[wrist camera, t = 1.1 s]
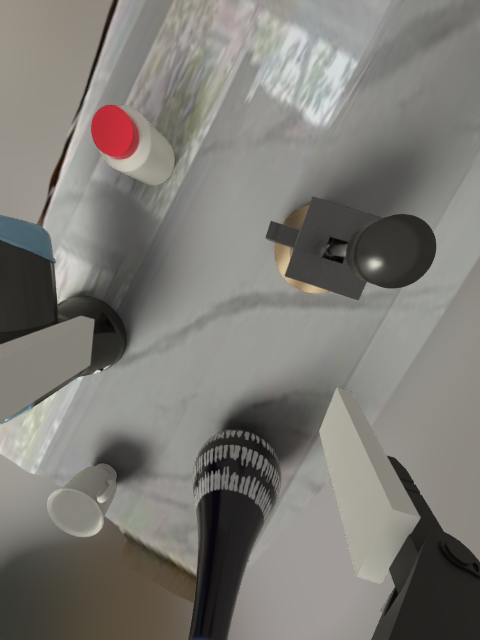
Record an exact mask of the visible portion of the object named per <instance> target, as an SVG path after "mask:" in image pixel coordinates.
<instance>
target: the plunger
mask: <svg viewBox="0 0 480 640" xmlns="http://www.w3.org/2000/svg"><path fill="white" fill-rule="evenodd" d="M435 253H436V239H435V236H434V233H433V231H432V229H431V228H430V226H429V225H428V224H427V223H426V222H425V221H423V220H422V219H420V218H418V217H416V216H413V215H407V214H398V215H393V216H389V217H386V218H382V219H378V220H375V221H372V222H369V223H366V224H365V225H363V226H361V227H360V228H359V229H358V230H357V231H356V232H355V233H354V234H353V235H352V237H351V238H350V240H349V242H345V241H342V240H338V239H335V238H332V237H330V238H329V241H328V243H327V246H326V249H325V251H324V254H323V256H322V258H325V259H328V260H331V261H335V262H338V263H342V261H343V258H344V257H346V261H347V264H348V267H349V269H350V270H351V272H352V273H353V274H354V275H355V276H357V277H358V278H360V279H362V280H364V281H367V282H369V283H372V284H375V285H377V286H380V287H384V288H401V287H405V286H407V285H410V284H412V283H414V282H415V281H417V280H418V279H420V278H421V277H422V276H423V275H424V274H425V273H426V272H427V270H428V269H429V268H430V266H431V264H432V262H433V260H434V257H435Z"/></svg>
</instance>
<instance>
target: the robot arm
mask: <svg viewBox="0 0 480 640" xmlns="http://www.w3.org/2000/svg"><path fill="white" fill-rule="evenodd" d="M54 263H56V260H55V259H54V258H53V251H52V244H51V238H50V235H49V233H48V232H47V231H46V230H45V229H44V228H42V227H41V226H39V225H37V224H34V223H30V222H27V221H23V220H19V219H15V218H11V217H6V216H2V215H0V424H3V423H6V422H8V421H9V420H11V419H13V418H15V417H17V416H18V415H20V414H22V413H25V412H27V411H29V410H31V409H32V408H33V407H34V406H36V405H37V404H39V403H40V402H42V401H43V400H45V399H46V398H48V397H49V396H51V395H52V394H54V393H55V392H56V391H58V390H59V389H61V388H62V387H64V386H65V385H67V384H68V383H70V382H71V381H73V380H74V379H76V378H78V377H81V376H86V375H90V374H95V373H99V372H102V371H104V370H106V369H108V368H110V367H111V366H112V365H114V364H115V363H116V362H118V360H119V359H120V358H121V357H122V355H123V353H124V350H125V346H126V333H125V329H124V326H123V324H122V321H121V320H120V318H119V316H118V315H117V314H116V312H115V311H114V310H113V309H112V308H111V307H110V306H108V305H107V304H106V303H104V302H102V301H101V300H98V299H96V298H93V297H88V296H79V297H74V298H70V299H67V300H64V301H62V302H60V303H59V304H57V292H56V279H55V265H54ZM319 433H320V437H321V441H322V445H323V449H324V453H325V457H326V461H327V464H328V468H329V472H330V476H331V480H332V484H333V488H334V492H335V496H336V500H337V504H338V508H339V512H340V516H341V519H342V523H343V527H344V531H345V535H346V539H347V543H348V547H349V551H350V555H351V558H352V562H353V567H354V571H355V574H356V576H357V577H359V578H363V579H366V580H369V581H372V582H376V583H379V584H382V582H383V580H384V578H385V577H386V575H387V574H388V571H390V573H391V576H392V579H393V582H394V584H395V588H394V590H393V591H392V593H391V594H390V596H389V598H388V599H387V601H386V602H385V604H384V606H383V607H382V609H381V612H382V616H381V618H380V620H379V623H378V625H377V627H376V630H375V632H374V635H373V637H372V639H371V640H480V562H479V560H478V559H477V558H476V557H475V556H474V555H473V554H472V552H471V551H470V550H469V549H468V548H467V547H466V546H465V545H463V544H462V543H461V542H460V541H459V540H457V539H456V538H454V537H452V536H451V535H449V534H447V533H445V532H444V531H443V529H442V528H441V526H440V525H439V523H438V521H437V520H436V518H435V516H434V515H433V513H432V511H431V510H430V508H429V506H428V505H427V503H426V501H425V500H424V498H423V496H422V495H420V491H419V490H418V488H417V487H416V485H414V481H413V480H412V479H411V476H410V475H409V473H408V472H407V470H406V469H405V468H404V467H403V466H402V465H401V464H400V463H399V462H398V461H397V459H395V458H393V457H390V456H387V455H386V454H385V452H384V450H383V448H382V446H381V445H380V443H379V441H378V439H377V437H376V436H375V434H374V432H373V430H372V428H371V426H370V425H369V423H368V421H367V419H366V417H365V415H364V414H363V412H362V410H361V408H360V406H359V404H358V403H357V401H356V399H355V397H354V395H353V394H352V392H351V391H348V390H344V389H341V388H336V390H335V393H334V395H333V398H332V400H331V403H330V405H329V408H328V410H327V413H326V415H325V418H324V420H323V423H322V425H321V428H320V430H319Z"/></svg>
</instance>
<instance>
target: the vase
mask: <svg viewBox="0 0 480 640" xmlns="http://www.w3.org/2000/svg"><path fill="white" fill-rule="evenodd" d="M192 482H193V493H194V500H195V507H196V514H197V523H198V566H197V577H196V587H195V596H194V605H193V613H192V619H191V626H190V632H189V638H188V640H228V635H229V631H230V626H231V621H232V616H233V613H234V608H235V605H236V600H237V596H238V593H239V589H240V585H241V582H242V578H243V575H244V572H245V568H246V565H247V562H248V559H249V556H250V554H251V551H252V549H253V547H254V544H255V542H256V540H257V538H258V536H259V534H260V532H261V530H262V529H263V527H264V525H265V523H266V522H267V520H268V518H269V516H270V514H271V513H272V511H273V509H274V507H275V505H276V503H277V500H278V497H279V493H280V488H281V468H280V463H279V460H278V458H277V455H276V453H275V451H274V450H273V448H272V447H271V446H270V444H269V443H268V442H267V441H266V440H265V439H264V438H263V437H261V436H259V435H258V434H256V433H254V432H252V431H249V430H246V429H228V430H224V431H221V432H219V433H217V434H216V435H214V436H212V437H211V438H210V439H209V440H208V441H207V442H206V443H205V444H204V445H203V447H202V448H201V450H200V452H199V454H198V456H197V458H196V462H195V465H194V470H193V480H192Z"/></svg>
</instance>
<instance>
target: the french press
mask: <svg viewBox="0 0 480 640" xmlns="http://www.w3.org/2000/svg"><path fill="white" fill-rule="evenodd" d="M378 219H382V218H380V217H377V216H374V215H371V214H367V213H364V212H361V211H358V210H354V209H351V208H348V207H345V206H341V205H338V204H335V203H332V202H328V201H325V200H322V199H319V198H316V197H312V199H311V202H310V205H309V208H308V211H307V213H306V216H305V219H304V222H303V225H302V226H301V227H300V228H299V229H295V228H292V227H288V226H285V225H282V224H279V223H276V222H273V221H271V222H270V225H269V229H268V232H267V235H266V239H267V240H270V241H273V242H276V243H279V244H282V245H285V246H288V247H290V258H291V259H290V261H289V264H288V267H287V270H286V273H285V277H288V278H291V279H294V280H297V281H301V282H304V283H307V284H310V285H313V286H316V287H319V288H322V289H325V290H328V291H331V292H334V293H337V294H341V295H344V296H347V297H350V298H353V299H356V300H359V298H360V296H361V293H362V291H363V289H364V287H365V284H366V282H367V281H364V280H362V279H360V278H358V277H357V276H355V275H354V274H353V273H352V272H351V270H350V269H349V267H348V264H347V261H346V257H344V258H343V261H342V263H338V262H335V261H331V260H328V259H325V258H322V256H323V254H324V251H325V249H326V246H327V243H328V241H329V238H330V237H332V238H335V239H338V240H342V241H345V242H349V240H350V238H351V237H352V235H353V234H354V233H355V232H356V231H357V230H358V229H359V228H360V227H361V226H363V225H365V224H366V223H369V222H372V221H375V220H378Z"/></svg>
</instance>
